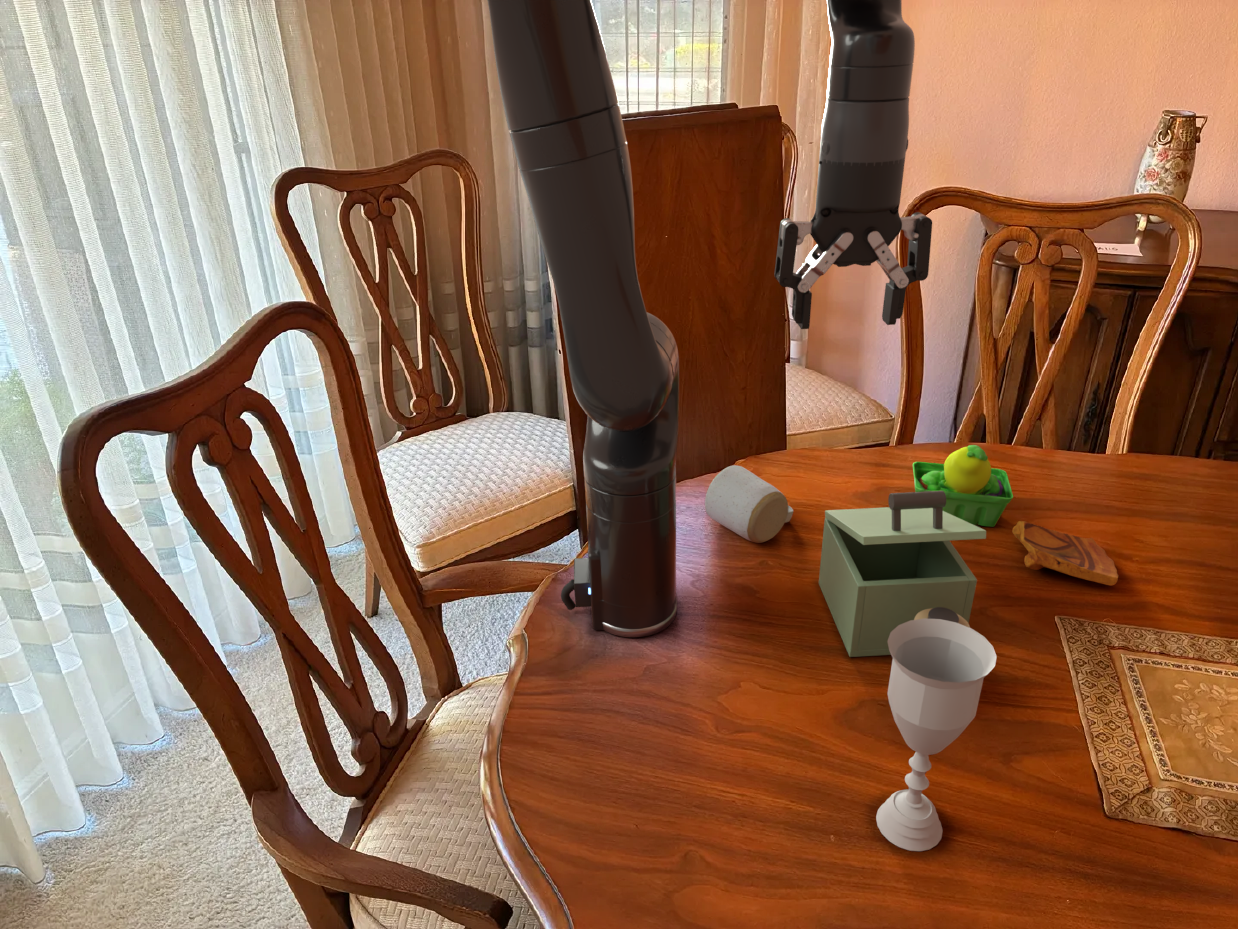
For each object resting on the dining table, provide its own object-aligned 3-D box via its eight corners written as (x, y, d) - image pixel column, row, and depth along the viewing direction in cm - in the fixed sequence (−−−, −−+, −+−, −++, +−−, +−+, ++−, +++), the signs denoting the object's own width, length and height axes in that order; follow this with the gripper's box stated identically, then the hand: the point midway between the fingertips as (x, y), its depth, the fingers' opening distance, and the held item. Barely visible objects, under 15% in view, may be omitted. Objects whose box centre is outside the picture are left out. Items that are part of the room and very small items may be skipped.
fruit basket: (998, 502, 112) (1015, 424, 106) (1008, 539, 104) (1026, 457, 99) (907, 494, 114) (918, 417, 109) (910, 529, 107) (922, 448, 101)
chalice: (939, 787, 72) (973, 616, 63) (971, 858, 66) (1014, 679, 57) (852, 792, 72) (875, 620, 63) (876, 863, 66) (905, 685, 57)
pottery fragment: (1011, 517, 103) (1104, 512, 100) (1011, 549, 105) (1102, 544, 102) (1029, 567, 94) (1131, 562, 91) (1028, 600, 96) (1128, 597, 93)
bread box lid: (986, 538, 80) (986, 492, 80) (863, 545, 80) (863, 498, 79) (930, 512, 93) (930, 472, 93) (824, 517, 93) (824, 477, 93)
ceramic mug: (749, 555, 103) (753, 500, 99) (702, 527, 108) (704, 474, 105) (808, 525, 108) (813, 472, 105) (760, 500, 114) (764, 449, 111)
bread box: (963, 651, 87) (977, 580, 82) (849, 657, 86) (858, 586, 82) (919, 578, 98) (929, 512, 94) (818, 583, 97) (824, 517, 93)
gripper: (925, 143, 81) (904, 309, 88) (775, 149, 80) (766, 316, 88) (956, 155, 74) (930, 334, 82) (792, 161, 74) (782, 341, 81)
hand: (845, 324), depth 85 cm, fingers open, 8 cm apart
